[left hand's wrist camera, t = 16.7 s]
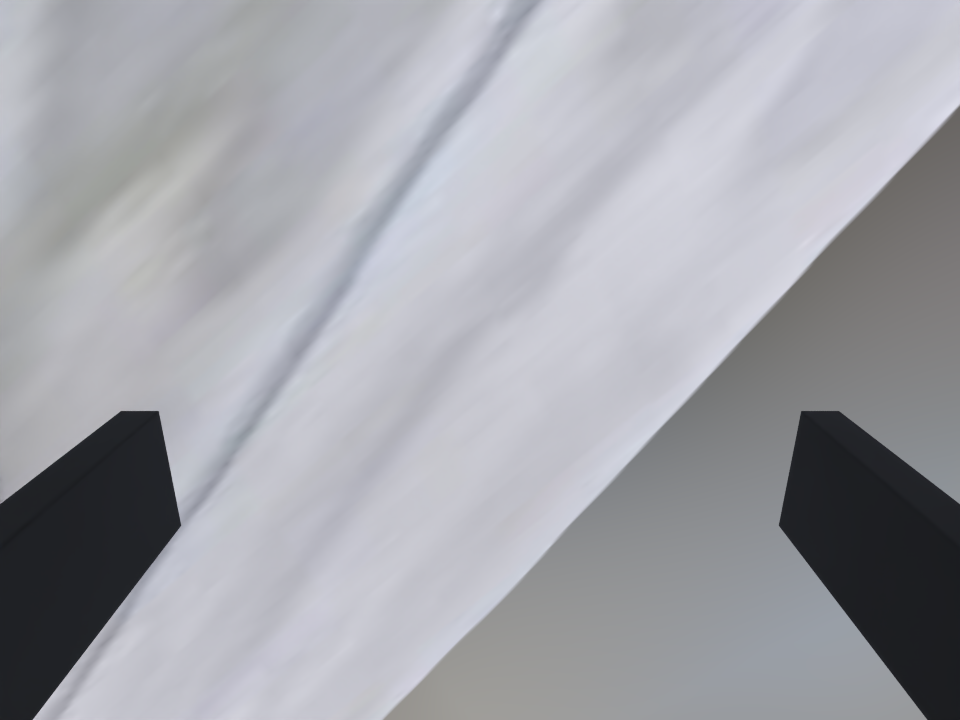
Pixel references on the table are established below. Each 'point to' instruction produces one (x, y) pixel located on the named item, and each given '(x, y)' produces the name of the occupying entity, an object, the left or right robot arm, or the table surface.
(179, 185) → the table surface
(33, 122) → the table surface
